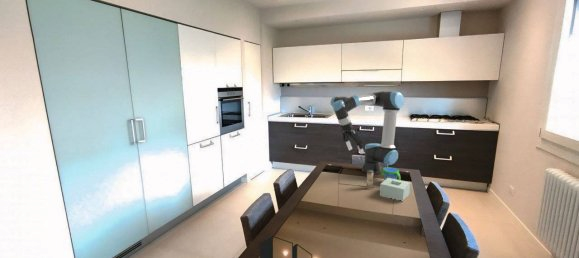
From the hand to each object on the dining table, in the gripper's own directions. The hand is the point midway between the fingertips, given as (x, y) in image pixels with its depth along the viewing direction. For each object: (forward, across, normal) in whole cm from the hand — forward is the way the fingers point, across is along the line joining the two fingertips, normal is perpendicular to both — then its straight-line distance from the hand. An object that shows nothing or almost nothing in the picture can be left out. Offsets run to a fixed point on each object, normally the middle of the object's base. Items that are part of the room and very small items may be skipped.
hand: (356, 151), depth 174 cm
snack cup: (+35, +1, +15) cm, 38 cm away
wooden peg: (+27, +3, -2) cm, 27 cm away
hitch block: (+31, +18, +4) cm, 36 cm away
